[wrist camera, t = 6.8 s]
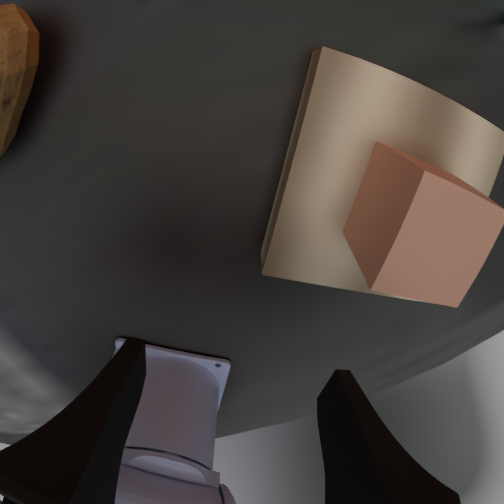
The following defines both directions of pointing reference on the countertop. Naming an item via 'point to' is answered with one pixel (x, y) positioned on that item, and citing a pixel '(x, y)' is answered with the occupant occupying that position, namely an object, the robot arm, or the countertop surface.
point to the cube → (419, 228)
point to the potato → (15, 68)
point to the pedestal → (361, 160)
